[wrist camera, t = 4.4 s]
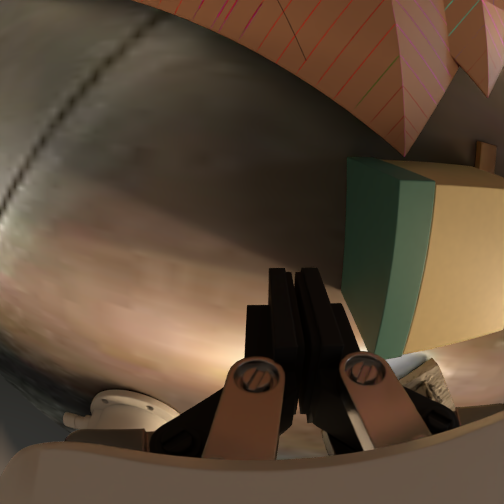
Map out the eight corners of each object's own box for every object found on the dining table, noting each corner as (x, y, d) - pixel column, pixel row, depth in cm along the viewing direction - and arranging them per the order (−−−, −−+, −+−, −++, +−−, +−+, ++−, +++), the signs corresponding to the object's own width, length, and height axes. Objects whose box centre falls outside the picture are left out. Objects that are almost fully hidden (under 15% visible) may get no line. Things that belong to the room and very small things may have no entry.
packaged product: (468, 435, 28) (407, 469, 30) (456, 411, 32) (399, 445, 35) (451, 385, 22) (363, 436, 25) (432, 353, 26) (353, 401, 29)
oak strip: (447, 295, 23) (451, 299, 23) (476, 140, 18) (481, 141, 17) (462, 294, 23) (466, 297, 23) (491, 144, 18) (497, 145, 17)
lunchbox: (340, 291, 23) (371, 361, 16) (346, 156, 19) (399, 179, 12) (452, 279, 23) (501, 331, 15) (470, 164, 19) (540, 190, 11)
